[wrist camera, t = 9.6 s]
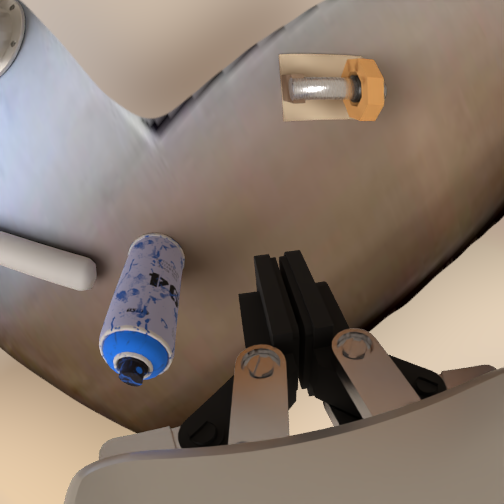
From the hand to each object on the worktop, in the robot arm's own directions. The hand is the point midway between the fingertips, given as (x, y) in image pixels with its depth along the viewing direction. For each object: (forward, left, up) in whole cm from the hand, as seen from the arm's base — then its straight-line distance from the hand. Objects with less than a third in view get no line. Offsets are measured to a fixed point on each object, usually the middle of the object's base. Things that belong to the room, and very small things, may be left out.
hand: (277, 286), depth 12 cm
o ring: (-6, +14, -25) cm, 29 cm away
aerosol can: (+14, -12, -27) cm, 33 cm away
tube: (+9, -32, -28) cm, 43 cm away
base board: (-6, +11, -27) cm, 30 cm away
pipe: (-6, +11, -24) cm, 27 cm away
